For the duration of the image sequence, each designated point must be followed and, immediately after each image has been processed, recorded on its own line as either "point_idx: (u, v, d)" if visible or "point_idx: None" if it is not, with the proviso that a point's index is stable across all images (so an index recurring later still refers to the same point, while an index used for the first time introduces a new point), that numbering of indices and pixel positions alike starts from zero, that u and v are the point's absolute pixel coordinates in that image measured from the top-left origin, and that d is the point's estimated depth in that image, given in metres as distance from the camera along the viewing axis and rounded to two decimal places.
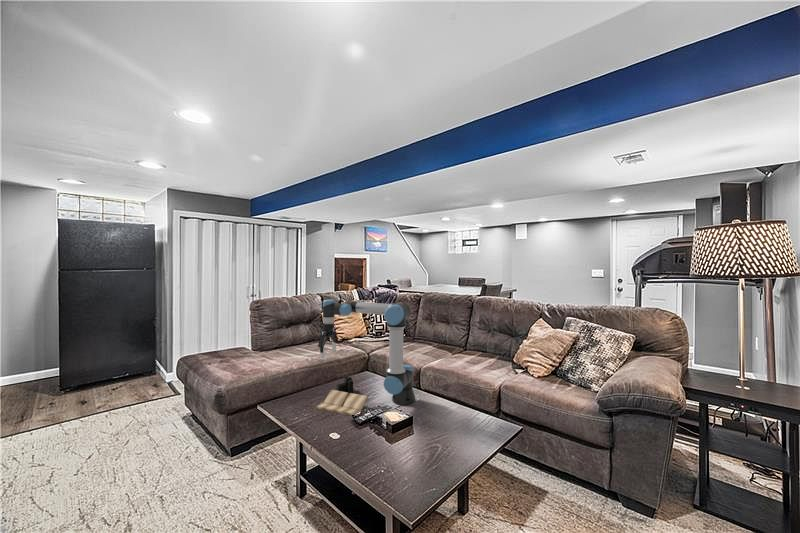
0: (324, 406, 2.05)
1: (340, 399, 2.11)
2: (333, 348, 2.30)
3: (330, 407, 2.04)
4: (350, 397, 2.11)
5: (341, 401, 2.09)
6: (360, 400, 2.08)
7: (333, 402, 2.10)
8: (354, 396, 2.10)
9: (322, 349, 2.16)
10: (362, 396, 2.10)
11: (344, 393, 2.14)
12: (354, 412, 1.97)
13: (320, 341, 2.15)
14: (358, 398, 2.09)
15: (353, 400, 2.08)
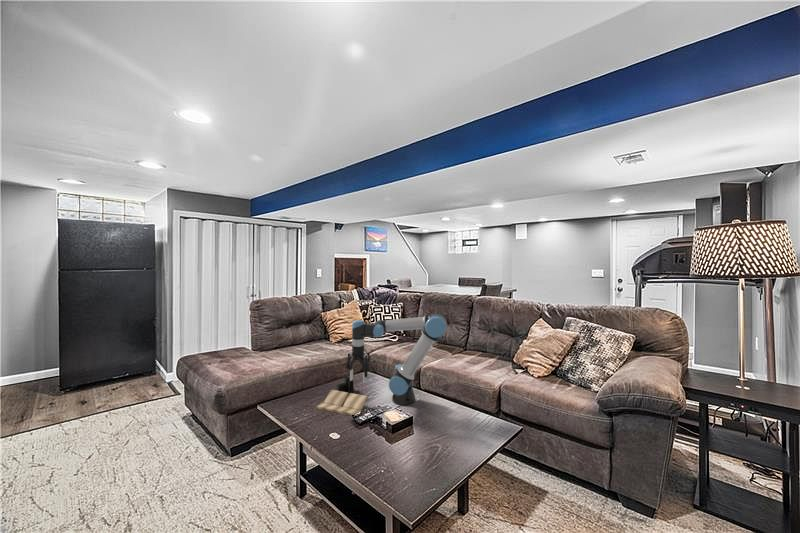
0: (324, 406, 2.05)
1: (340, 399, 2.11)
2: None
3: (330, 407, 2.04)
4: (350, 397, 2.11)
5: (341, 401, 2.09)
6: (360, 400, 2.08)
7: (333, 402, 2.10)
8: (354, 396, 2.10)
9: (349, 371, 2.11)
10: (362, 396, 2.10)
11: (344, 393, 2.14)
12: (354, 412, 1.97)
13: None
14: (358, 398, 2.09)
15: (353, 400, 2.08)
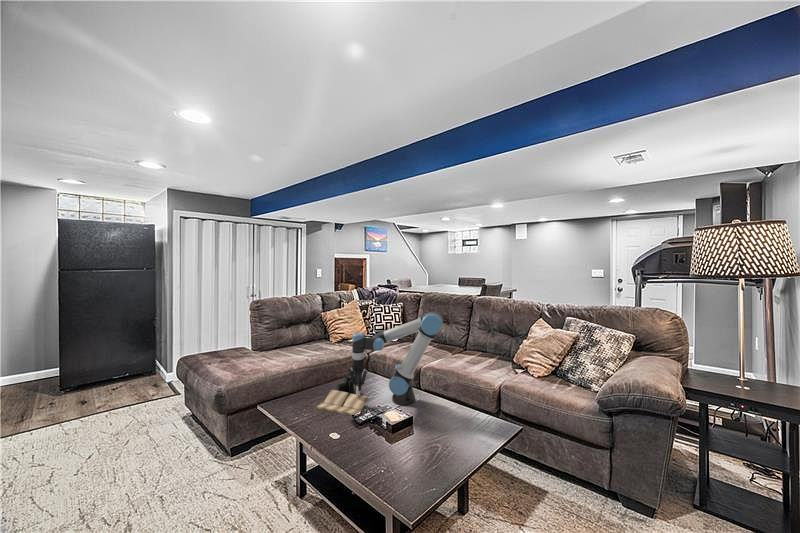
0: (324, 406, 2.05)
1: (340, 399, 2.11)
2: None
3: (330, 407, 2.04)
4: (350, 397, 2.11)
5: (341, 401, 2.09)
6: (360, 400, 2.08)
7: (333, 402, 2.10)
8: (354, 397, 2.11)
9: (355, 387, 2.10)
10: (362, 396, 2.10)
11: (344, 393, 2.14)
12: (354, 412, 1.97)
13: None
14: (358, 398, 2.09)
15: (353, 401, 2.08)
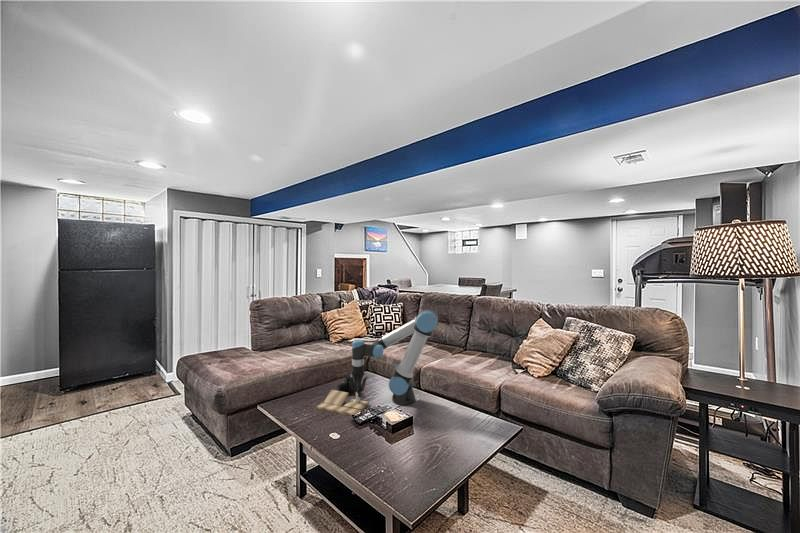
0: (324, 406, 2.05)
1: (340, 399, 2.11)
2: None
3: (330, 407, 2.04)
4: (351, 401, 2.12)
5: (341, 401, 2.09)
6: (361, 403, 2.09)
7: (333, 402, 2.10)
8: (355, 401, 2.12)
9: (355, 393, 2.11)
10: (363, 401, 2.11)
11: (344, 393, 2.14)
12: (354, 412, 1.97)
13: None
14: (359, 402, 2.10)
15: (354, 403, 2.09)
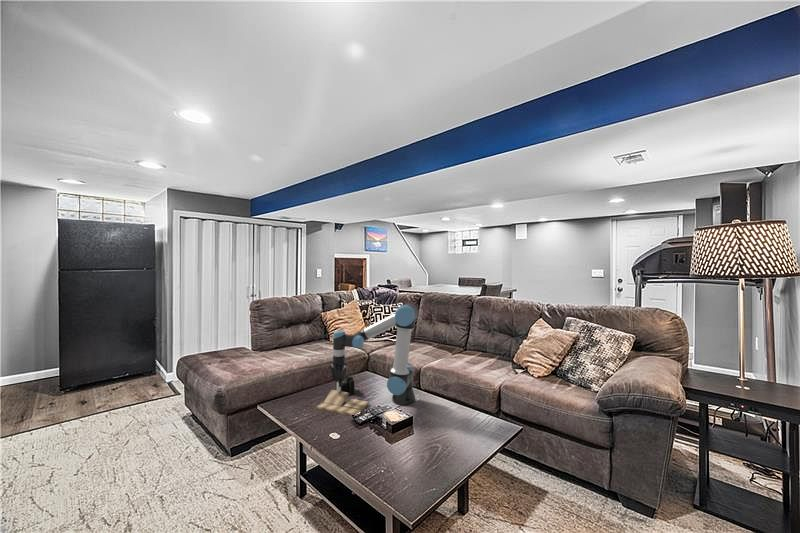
0: (324, 406, 2.05)
1: (340, 399, 2.11)
2: None
3: (330, 407, 2.04)
4: (351, 401, 2.12)
5: (341, 401, 2.09)
6: (361, 403, 2.09)
7: (333, 402, 2.10)
8: (355, 401, 2.12)
9: (336, 383, 2.15)
10: (363, 401, 2.11)
11: (344, 393, 2.14)
12: (354, 412, 1.97)
13: None
14: (359, 402, 2.10)
15: (354, 403, 2.09)
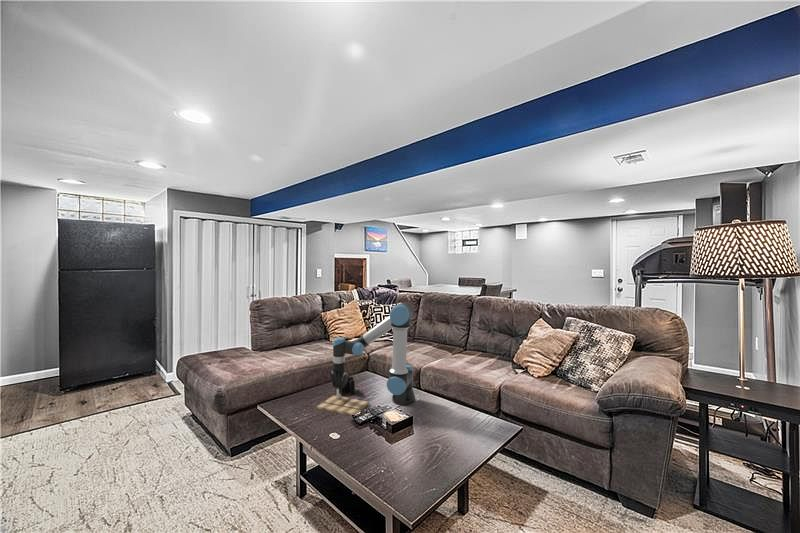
0: (324, 406, 2.05)
1: (341, 401, 2.12)
2: None
3: (330, 407, 2.04)
4: (351, 401, 2.12)
5: (342, 402, 2.10)
6: (361, 403, 2.09)
7: (334, 402, 2.10)
8: (355, 401, 2.12)
9: (336, 389, 2.16)
10: (363, 401, 2.11)
11: (345, 398, 2.16)
12: (354, 412, 1.97)
13: None
14: (359, 402, 2.10)
15: (354, 403, 2.09)
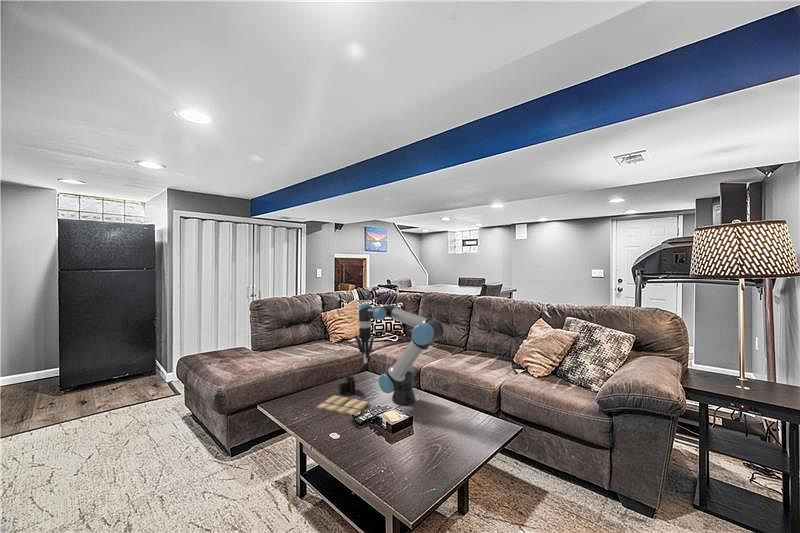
0: (324, 406, 2.05)
1: (341, 401, 2.12)
2: None
3: (330, 407, 2.04)
4: (351, 401, 2.12)
5: (342, 402, 2.10)
6: (361, 403, 2.09)
7: (334, 402, 2.10)
8: (355, 401, 2.12)
9: (363, 354, 2.20)
10: (363, 401, 2.11)
11: (345, 398, 2.16)
12: (354, 412, 1.97)
13: None
14: (359, 402, 2.10)
15: (354, 403, 2.09)
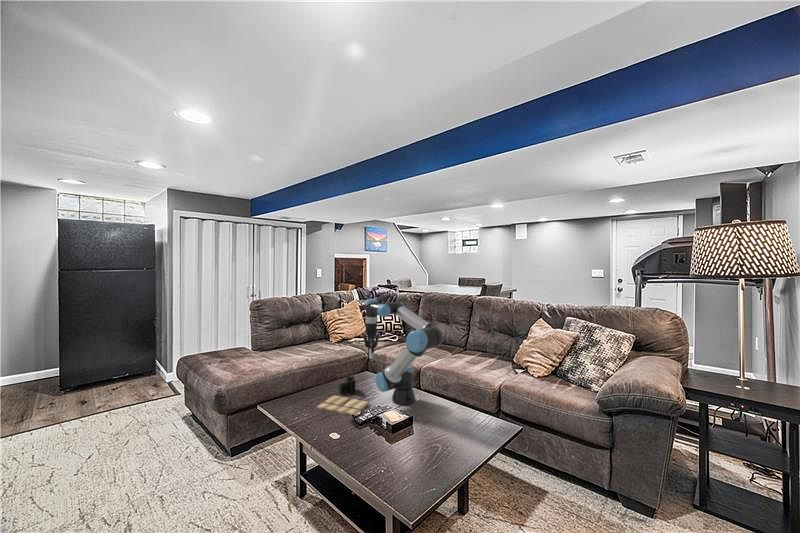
0: (324, 406, 2.05)
1: (341, 401, 2.12)
2: None
3: (330, 407, 2.04)
4: (351, 401, 2.12)
5: (342, 402, 2.10)
6: (361, 403, 2.09)
7: (334, 402, 2.10)
8: (355, 401, 2.12)
9: (368, 349, 2.22)
10: (363, 401, 2.11)
11: (345, 398, 2.16)
12: (354, 412, 1.97)
13: None
14: (359, 402, 2.10)
15: (354, 403, 2.09)
